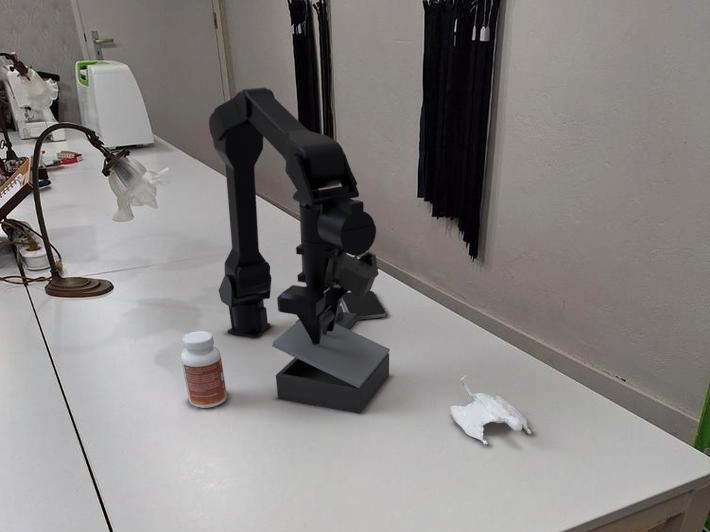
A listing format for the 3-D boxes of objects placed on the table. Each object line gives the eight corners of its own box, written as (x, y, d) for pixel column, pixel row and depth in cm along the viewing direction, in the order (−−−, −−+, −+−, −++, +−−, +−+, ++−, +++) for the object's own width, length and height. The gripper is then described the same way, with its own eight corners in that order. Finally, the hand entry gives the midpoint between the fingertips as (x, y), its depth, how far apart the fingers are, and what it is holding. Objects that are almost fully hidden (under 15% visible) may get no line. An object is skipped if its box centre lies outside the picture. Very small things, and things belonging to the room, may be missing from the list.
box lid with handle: (271, 346, 102) (277, 319, 98) (308, 315, 112) (315, 289, 109) (359, 388, 100) (368, 362, 97) (388, 353, 110) (397, 328, 107)
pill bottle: (233, 402, 107) (224, 338, 100) (198, 413, 104) (186, 348, 97) (217, 387, 111) (208, 325, 104) (183, 398, 108) (171, 335, 102)
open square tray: (277, 398, 107) (275, 375, 105) (312, 364, 117) (311, 342, 115) (360, 413, 102) (360, 389, 100) (389, 376, 112) (389, 353, 110)
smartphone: (372, 289, 145) (387, 313, 133) (372, 293, 146) (387, 317, 134) (338, 292, 144) (350, 317, 132) (339, 296, 145) (351, 320, 133)
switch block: (296, 330, 130) (294, 313, 128) (312, 315, 136) (311, 299, 134) (342, 336, 127) (341, 319, 125) (357, 321, 133) (357, 304, 131)
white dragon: (429, 399, 105) (430, 376, 103) (484, 387, 108) (486, 365, 106) (486, 456, 92) (489, 430, 89) (548, 440, 94) (552, 416, 92)
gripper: (346, 263, 86) (347, 370, 96) (393, 226, 100) (389, 323, 110) (271, 254, 90) (279, 357, 99) (326, 219, 104) (329, 313, 113)
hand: (323, 337), depth 105 cm, fingers closed on box lid with handle, 5 cm apart
